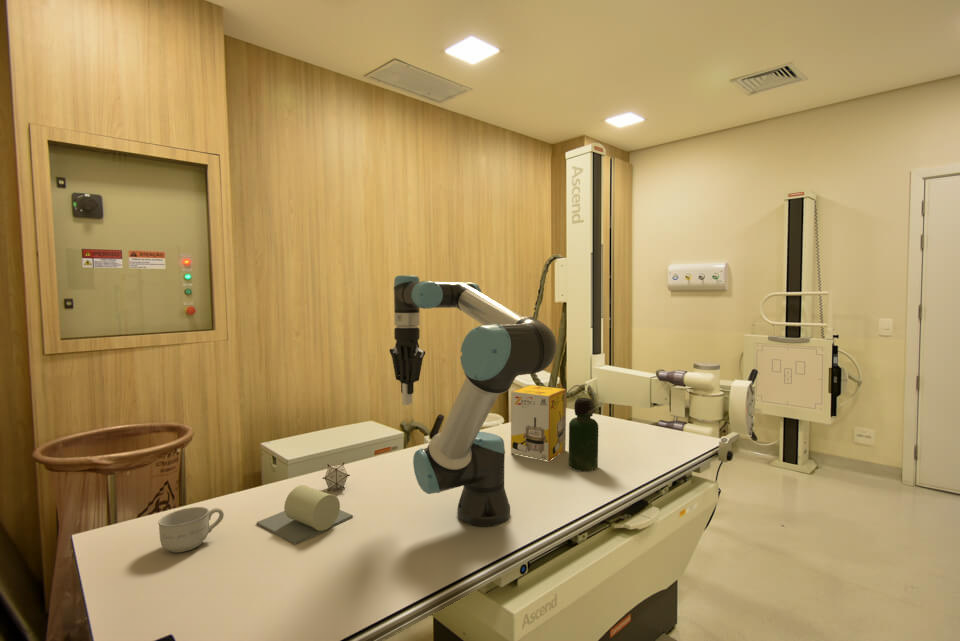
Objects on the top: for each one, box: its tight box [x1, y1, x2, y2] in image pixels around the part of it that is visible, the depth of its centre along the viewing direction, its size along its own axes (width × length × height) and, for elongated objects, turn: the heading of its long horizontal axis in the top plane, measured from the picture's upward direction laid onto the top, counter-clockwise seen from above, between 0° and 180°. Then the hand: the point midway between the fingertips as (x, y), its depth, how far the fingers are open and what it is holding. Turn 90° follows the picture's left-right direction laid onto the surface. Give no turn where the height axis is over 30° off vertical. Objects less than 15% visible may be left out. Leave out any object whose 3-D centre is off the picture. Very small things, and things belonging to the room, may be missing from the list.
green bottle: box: [568, 397, 599, 472], centre depth 174 cm, size 10×10×25 cm
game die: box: [321, 462, 351, 492], centre depth 154 cm, size 9×8×10 cm
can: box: [283, 484, 341, 532], centre depth 130 cm, size 9×9×12 cm
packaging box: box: [510, 384, 567, 462], centre depth 190 cm, size 16×16×25 cm
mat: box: [256, 509, 354, 545], centre depth 132 cm, size 18×18×1 cm
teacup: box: [157, 506, 225, 553], centre depth 120 cm, size 14×11×8 cm
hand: (407, 404), depth 145 cm, fingers closed
